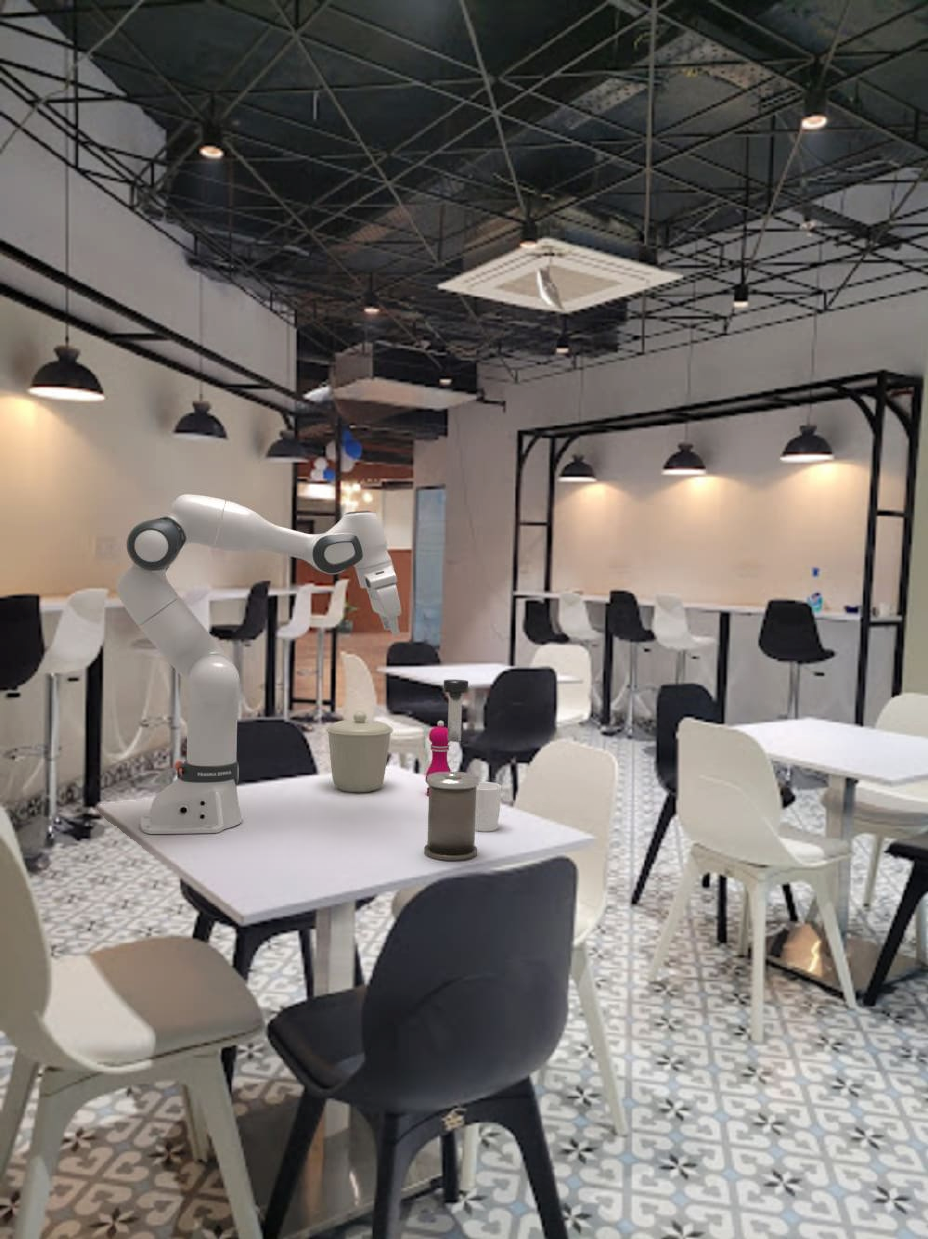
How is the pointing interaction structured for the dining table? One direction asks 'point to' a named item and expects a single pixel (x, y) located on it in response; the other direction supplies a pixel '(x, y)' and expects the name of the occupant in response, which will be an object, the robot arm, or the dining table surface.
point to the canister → (358, 753)
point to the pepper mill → (438, 750)
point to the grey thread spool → (451, 816)
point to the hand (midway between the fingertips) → (392, 631)
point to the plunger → (455, 707)
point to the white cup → (487, 806)
